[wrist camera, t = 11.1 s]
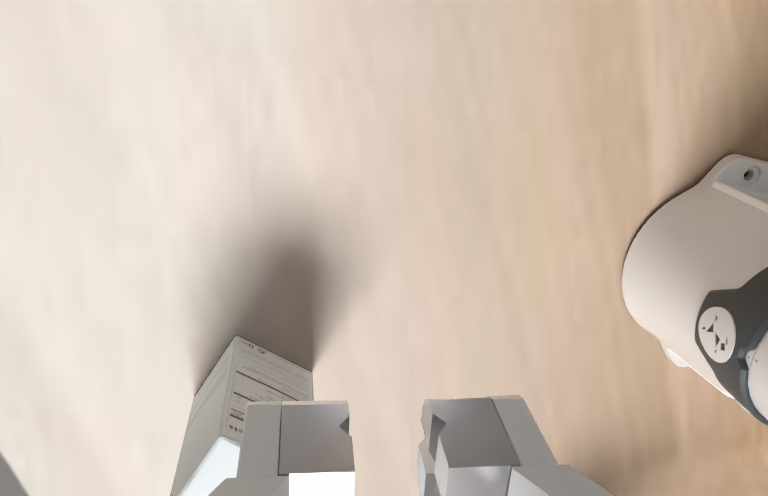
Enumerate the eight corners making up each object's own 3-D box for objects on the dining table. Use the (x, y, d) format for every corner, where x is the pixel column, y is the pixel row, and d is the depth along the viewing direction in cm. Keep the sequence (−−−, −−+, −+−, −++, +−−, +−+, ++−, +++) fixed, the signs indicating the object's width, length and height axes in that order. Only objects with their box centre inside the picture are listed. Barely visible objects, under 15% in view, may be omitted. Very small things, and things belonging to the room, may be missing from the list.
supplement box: (269, 433, 55) (261, 556, 44) (191, 398, 53) (160, 517, 41) (316, 371, 53) (320, 481, 42) (237, 331, 51) (218, 436, 39)
